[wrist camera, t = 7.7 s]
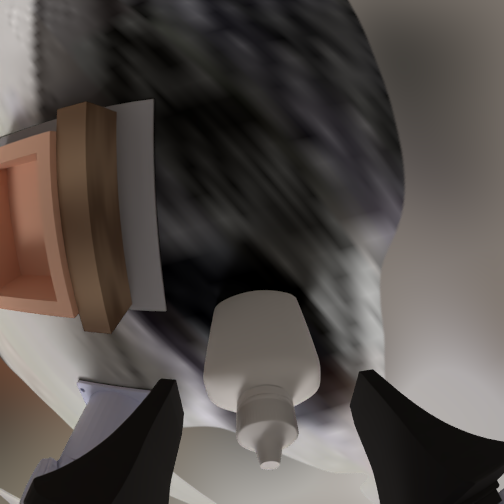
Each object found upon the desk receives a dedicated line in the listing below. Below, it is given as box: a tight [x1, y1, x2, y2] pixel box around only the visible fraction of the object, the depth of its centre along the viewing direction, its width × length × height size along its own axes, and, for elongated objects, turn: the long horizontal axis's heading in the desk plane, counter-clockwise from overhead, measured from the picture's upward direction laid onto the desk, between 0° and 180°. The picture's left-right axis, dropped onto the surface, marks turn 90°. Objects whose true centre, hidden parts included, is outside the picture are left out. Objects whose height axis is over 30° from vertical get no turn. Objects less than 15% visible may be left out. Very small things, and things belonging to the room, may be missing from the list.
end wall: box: [56, 102, 132, 334], centre depth 15 cm, size 13×2×4 cm, turn 0°
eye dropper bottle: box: [203, 290, 320, 470], centre depth 14 cm, size 4×6×12 cm
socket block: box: [0, 131, 79, 318], centre depth 15 cm, size 10×9×4 cm
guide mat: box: [0, 99, 167, 311], centre depth 17 cm, size 14×24×1 cm, turn 90°
